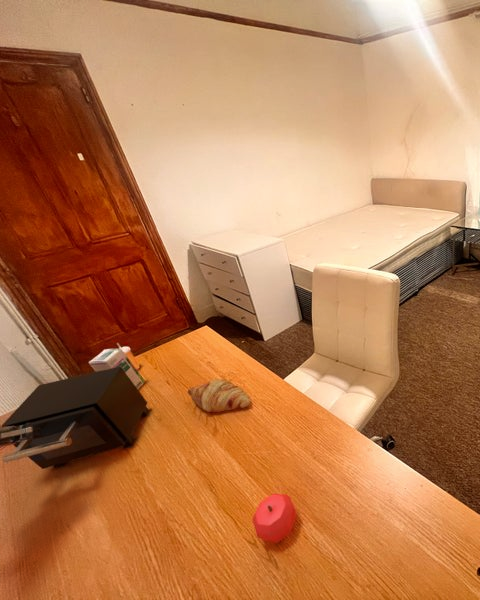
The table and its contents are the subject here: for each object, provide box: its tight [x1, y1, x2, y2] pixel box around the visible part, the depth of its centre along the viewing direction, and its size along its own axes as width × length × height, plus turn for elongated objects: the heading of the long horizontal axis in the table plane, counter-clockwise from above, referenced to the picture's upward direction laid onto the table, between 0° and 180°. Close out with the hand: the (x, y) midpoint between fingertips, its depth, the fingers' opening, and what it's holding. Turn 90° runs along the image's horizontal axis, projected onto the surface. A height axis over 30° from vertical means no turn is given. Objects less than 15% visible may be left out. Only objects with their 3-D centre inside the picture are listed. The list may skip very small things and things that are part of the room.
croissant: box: [187, 378, 251, 413], centre depth 90 cm, size 21×10×8 cm, turn 77°
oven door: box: [1, 406, 126, 470], centre depth 70 cm, size 8×17×14 cm, turn 108°
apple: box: [252, 493, 297, 544], centre depth 60 cm, size 8×8×8 cm
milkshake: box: [116, 342, 141, 371], centre depth 104 cm, size 4×5×10 cm
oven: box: [1, 366, 150, 468], centre depth 79 cm, size 13×18×17 cm
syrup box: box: [88, 348, 146, 390], centre depth 95 cm, size 6×6×14 cm
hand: (36, 432), depth 66 cm, fingers closed
